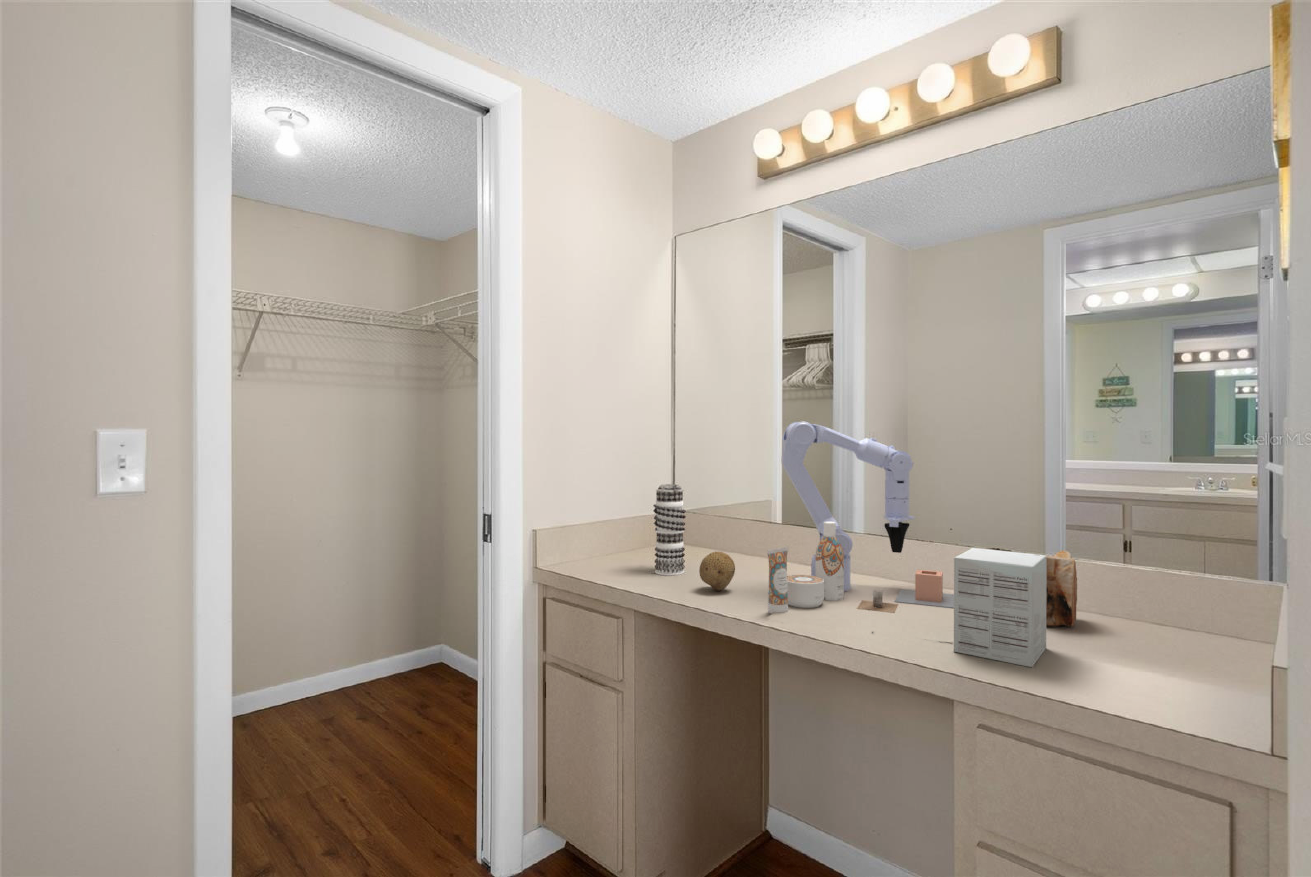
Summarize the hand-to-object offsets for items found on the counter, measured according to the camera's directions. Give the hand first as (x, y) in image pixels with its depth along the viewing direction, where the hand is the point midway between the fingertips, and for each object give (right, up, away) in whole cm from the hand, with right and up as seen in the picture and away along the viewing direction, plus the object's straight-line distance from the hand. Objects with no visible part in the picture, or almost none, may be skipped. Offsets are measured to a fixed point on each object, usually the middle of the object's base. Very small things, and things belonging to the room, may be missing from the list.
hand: (896, 552), depth 167 cm
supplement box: (+3, -11, -45) cm, 46 cm away
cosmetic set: (-26, -11, -14) cm, 32 cm away
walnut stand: (-11, -10, -17) cm, 22 cm away
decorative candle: (-57, -10, +23) cm, 62 cm away
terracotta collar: (+4, -9, -11) cm, 14 cm away
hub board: (+4, -10, -11) cm, 15 cm away
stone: (+23, -10, -28) cm, 38 cm away
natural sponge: (-45, -10, +1) cm, 46 cm away
